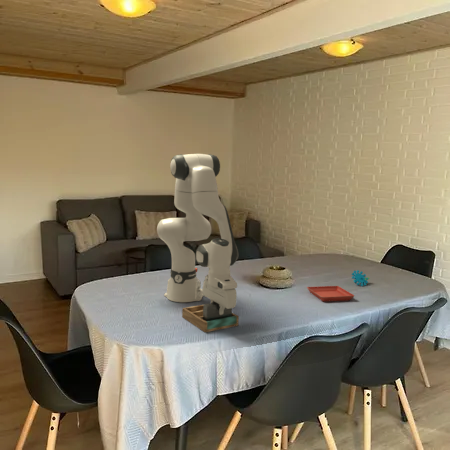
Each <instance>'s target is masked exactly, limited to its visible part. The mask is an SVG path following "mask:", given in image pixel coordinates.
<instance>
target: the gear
mask: <svg viewBox="0 0 450 450" xmlns="http://www.w3.org/2000/svg"><path fill="white" fill-rule="evenodd" d="M351 275H352V276H351V279H353V283H354V284H356V285H357V286H359V285H360V287H363V286H365V287H366V286H367V284H368V283H369V281H368V280H369V279H370V277H369V276H367V274H365V273H363V271H362V270H361V271H360V270H359V269H357V270H354V271H352V273H351Z"/></svg>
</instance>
